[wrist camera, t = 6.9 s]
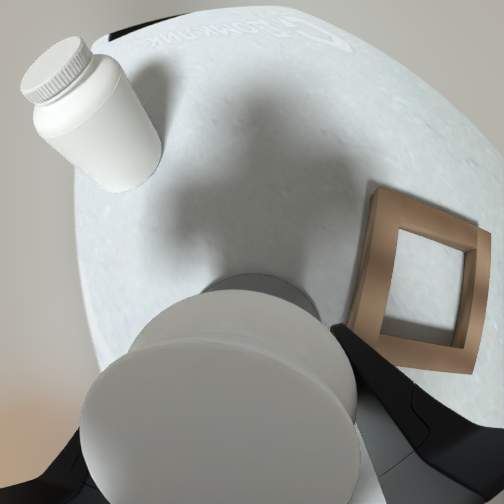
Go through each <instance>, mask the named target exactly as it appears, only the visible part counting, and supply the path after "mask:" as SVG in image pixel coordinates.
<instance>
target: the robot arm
mask: <svg viewBox="0 0 504 504" xmlns="http://www.w3.org/2000/svg"><path fill="white" fill-rule="evenodd" d="M330 332H331V333H332V334H333V336H334V337H335V338H336V339H337V341H338V342H339V344H340V345H341V347H342V348H343V350H344V352H345V354H346V356H347V358H348V359H349V362H350V365H351V367H352V370H353V373H354V377H355V382H356V388H357V413H356V423H357V425H358V428H359V431H360V433H361V436H362V438H363V441H364V443H365V446H366V449H367V451H368V454H369V456H370V459H371V462H372V464H373V467H374V470H375V472H376V475H377V478H378V481H379V484H380V486H381V489H382V492H383V495H384V497H385V500H386V503H387V504H504V429H503V428H492V427H484V426H480V425H477V424H475V423H472V422H471V421H469V420H467V419H466V418H464V417H462V416H461V415H459V414H458V413H456V412H454V411H453V410H451V409H450V408H448V407H446V406H445V405H443V404H442V403H440V402H439V401H437V400H436V399H434V398H433V397H432V396H430V395H429V394H428V393H427V392H425V391H424V390H423V389H422V388H420V387H419V386H418V385H417V384H416V383H414V382H413V381H412V380H411V379H410V378H408V377H407V376H406V375H405V374H404V373H402V372H401V371H400V370H399V369H398V368H396V367H395V366H394V365H393V364H392V363H390V362H389V361H388V360H387V359H386V358H384V357H383V356H382V355H381V354H379V353H378V352H377V351H376V350H375V349H373V348H372V347H371V346H370V345H369V344H367V343H366V342H365V341H364V340H363V339H361V338H360V337H359V336H358V335H357V334H355V333H354V332H353V331H352V330H351V329H349V328H348V327H347V326H346V325H345V324H343V323H339V324H335V325H332V326H331V327H330ZM0 504H111V503H110V502H109V501H108V500H107V499H106V498H105V496H104V495H103V494H102V492H101V491H100V490H99V488H98V487H97V485H96V483H95V482H94V480H93V478H92V477H91V475H90V472H89V470H88V467H87V464H86V462H85V459H84V456H83V453H82V448H81V442H80V426H79V428H78V430H77V431H76V432H75V434H74V435H73V437H72V438H71V439H70V441H69V442H68V444H67V445H66V446H65V447H64V449H63V450H62V451H61V453H60V454H59V455H58V456H57V457H56V459H55V460H54V461H53V462H52V463H51V465H50V466H49V467H48V468H47V470H46V471H45V472H44V473H43V474H42V475H40V476H39V477H37V478H35V479H33V480H30V481H27V482H23V483H20V484H16V485H12V486H9V487H5V488H0Z"/></svg>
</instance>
